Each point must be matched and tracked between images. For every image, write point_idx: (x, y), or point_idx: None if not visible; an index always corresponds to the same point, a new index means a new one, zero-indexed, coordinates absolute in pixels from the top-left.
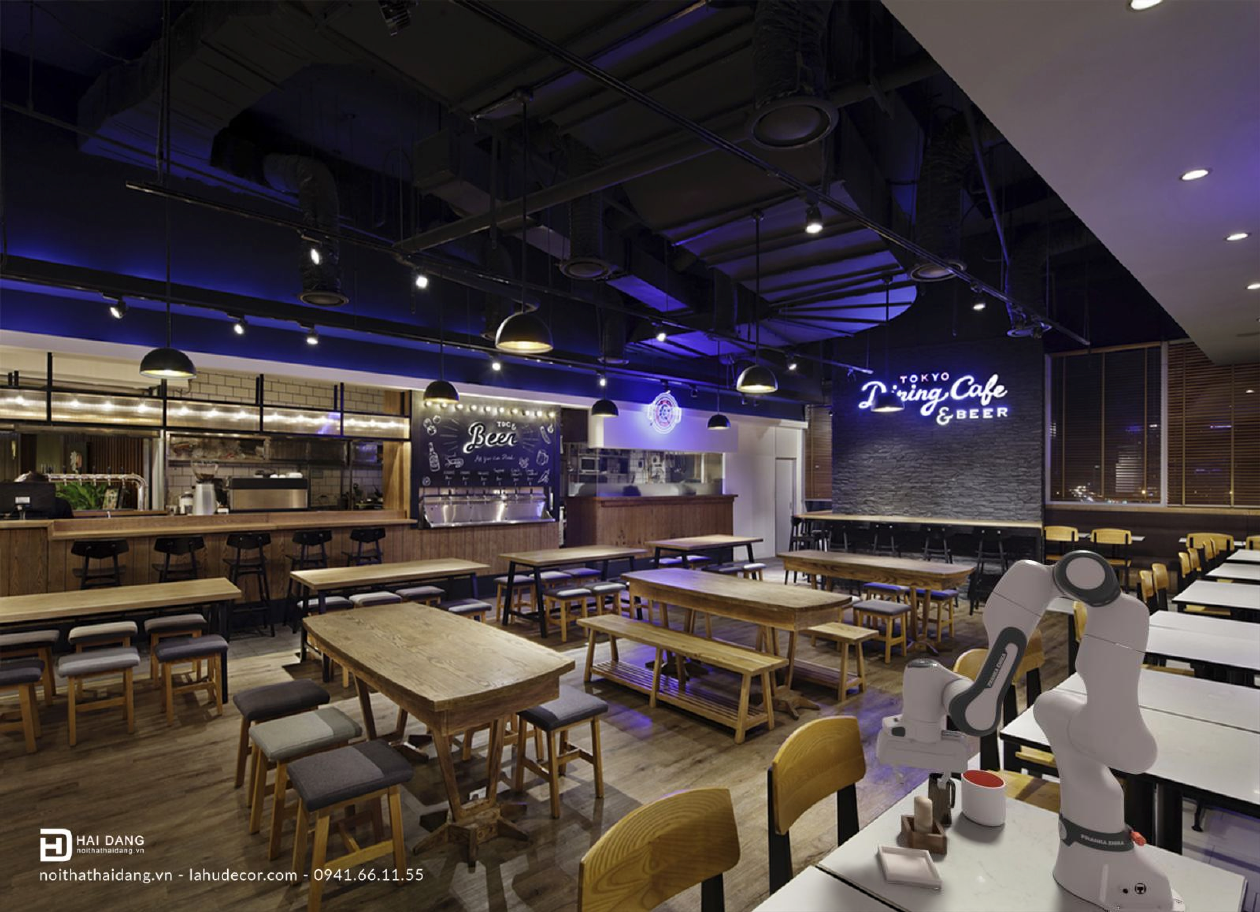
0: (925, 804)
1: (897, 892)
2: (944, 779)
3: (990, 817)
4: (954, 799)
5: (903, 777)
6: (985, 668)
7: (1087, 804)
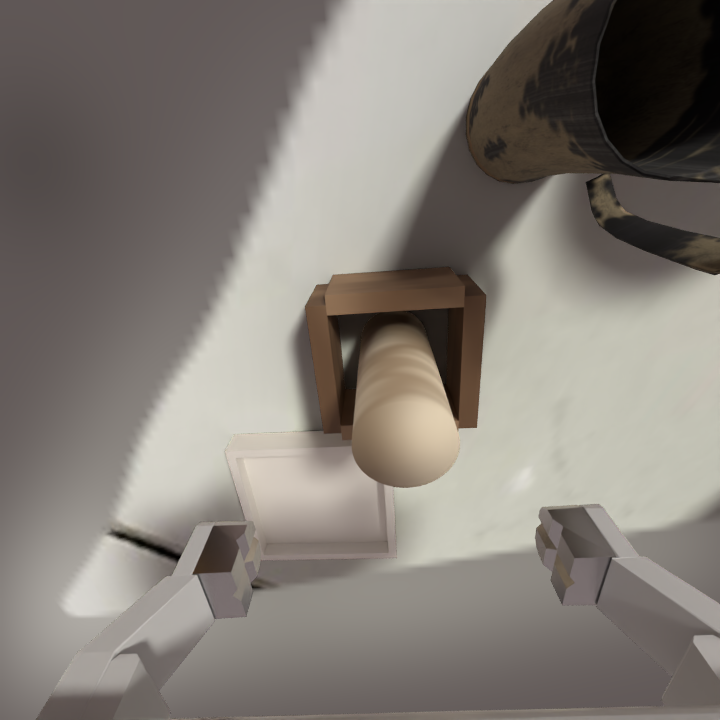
0: (409, 485)
1: (287, 562)
2: (626, 630)
3: None
4: (665, 232)
5: (245, 612)
6: None
7: None
